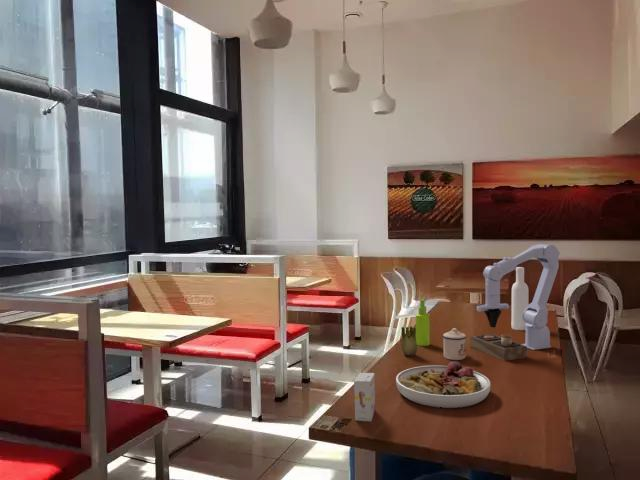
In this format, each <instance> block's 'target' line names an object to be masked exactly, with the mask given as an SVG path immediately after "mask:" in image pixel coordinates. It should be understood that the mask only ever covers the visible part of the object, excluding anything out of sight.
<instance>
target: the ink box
mask: <svg viewBox="0 0 640 480" xmlns="http://www.w3.org/2000/svg"><path fill="white" fill-rule="evenodd" d="M353 387H354V390H353V391H354V421H361V422H372V420H373V417H374V414H375V412H376V403H375V402H376V399H375V398H376V394H375V393H376V391H375V390H376V389H375V373H374V372H359V373H358V374H357V376H356V377H355V379H354V381H353Z"/></svg>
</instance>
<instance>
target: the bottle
mask: <svg viewBox="0 0 640 480" xmlns="http://www.w3.org/2000/svg"><path fill="white" fill-rule="evenodd" d="M529 291H530V290H529V286H528V284H527V283H526V282H525V267H523V266H516V269H515V282H514V283H513V284H512V287H511V329H512V330H515V331H526V325H525V322H524V320H523V318H522V314H523V312H524V311H525V310H526V308H527V306H528V305H529Z"/></svg>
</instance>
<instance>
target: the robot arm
mask: <svg viewBox="0 0 640 480" xmlns="http://www.w3.org/2000/svg"><path fill="white" fill-rule="evenodd" d="M559 257H560V250H559V249H558V248H557V247H556V245H554V244H544V243H536V244H534V245H531V246H530V247H529V248H527V249H526V250H524V251H522V252H521V253H519V254H517V255H515V256H514V257H510V256H509V257H506V256H505V257H503V258H502V260H500V261H498V262H494V263H493V265H487V266H486V267H485V268H484V269H483V272H482V276H483V277H484V279H485V280H484V281H485V282H484V283H485V304H481V305H477V306H476V311H477V312H484V313H485V316H486V317H487V320H488V324H489V327H490V328H496V325H497V323H498V320H499V317H500V316H501V314H502V310H505V309H507V310H508V309H509V308H510V307H509V303H501V279H502V278H503V277H504V276H505V275H507V274H509V273H511V272H512V271H516V268H517V267H518V265H520V264H523V263H525V262H527V261H529V260H531V259H534V258H535V259H537V260H538V262H540V263H541V265H542V266H543V268H542V272H541V275H540V277H539V281H538V284H537V286H536V287H537V288H536V289H535V292H534V296H533V298H532V302H530V303H528V306H527V308H526V310H525V311H524V312H523V314H522V318H523V320H524V322H525V325H526V330H525V342H524V343H522V345H524V346H527V349H529V350H532V351H533V350H534V351H536V350H542V349H550V348H552V345H551V333H550V328H549V327H548V326H547V323H548V315H549V310H548V308H547V304H548V300H549V297H550V295H551V293H552V288H553V286H554V282H555V279H556V277H557V274H558V270H559V267H560V266H559V265H560V262H559Z"/></svg>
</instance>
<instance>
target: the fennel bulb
mask: <svg viewBox="0 0 640 480" xmlns="http://www.w3.org/2000/svg"><path fill="white" fill-rule="evenodd" d="M400 330H401V342H400V343H401V350H402V353H403V354H404V355H405V356H408V357H413V356H415V355H416V354H417V353H418V345H417V343H416V326H412V325H410V326H401V329H400Z"/></svg>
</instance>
